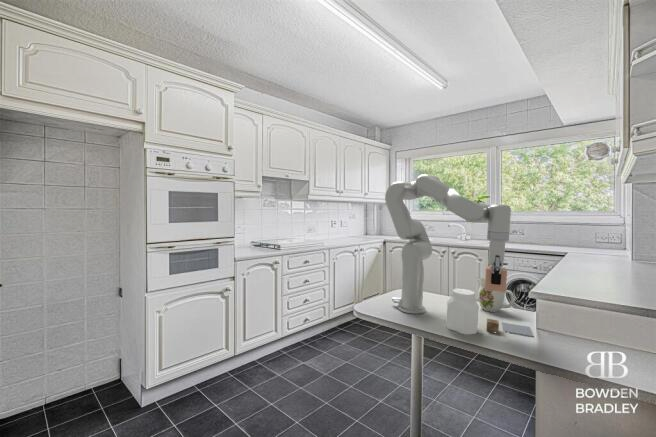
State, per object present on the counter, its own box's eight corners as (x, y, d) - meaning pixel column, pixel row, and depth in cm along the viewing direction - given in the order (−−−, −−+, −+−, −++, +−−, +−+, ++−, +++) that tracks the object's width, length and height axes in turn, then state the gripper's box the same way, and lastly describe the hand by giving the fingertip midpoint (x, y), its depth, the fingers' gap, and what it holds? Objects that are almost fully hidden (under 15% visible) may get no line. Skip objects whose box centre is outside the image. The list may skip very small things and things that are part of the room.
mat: (503, 331, 124) (503, 330, 124) (501, 323, 133) (501, 322, 133) (533, 337, 120) (533, 336, 120) (529, 327, 129) (529, 326, 129)
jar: (441, 326, 128) (443, 290, 127) (453, 321, 134) (455, 286, 133) (469, 336, 119) (472, 297, 118) (481, 330, 125) (483, 293, 124)
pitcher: (508, 318, 139) (510, 287, 138) (467, 307, 152) (469, 279, 152) (517, 313, 146) (519, 284, 145) (478, 303, 160) (479, 276, 159)
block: (486, 331, 124) (487, 321, 124) (486, 328, 128) (487, 318, 128) (498, 334, 123) (498, 323, 122) (497, 330, 126) (498, 320, 126)
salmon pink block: (484, 289, 123) (486, 269, 122) (484, 285, 129) (485, 265, 128) (505, 292, 120) (507, 271, 119) (504, 287, 126) (505, 267, 125)
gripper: (486, 233, 132) (484, 276, 134) (487, 238, 117) (484, 285, 118) (507, 235, 129) (504, 278, 130) (511, 239, 114) (508, 288, 115)
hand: (495, 281), depth 124 cm, fingers closed on salmon pink block, 7 cm apart
